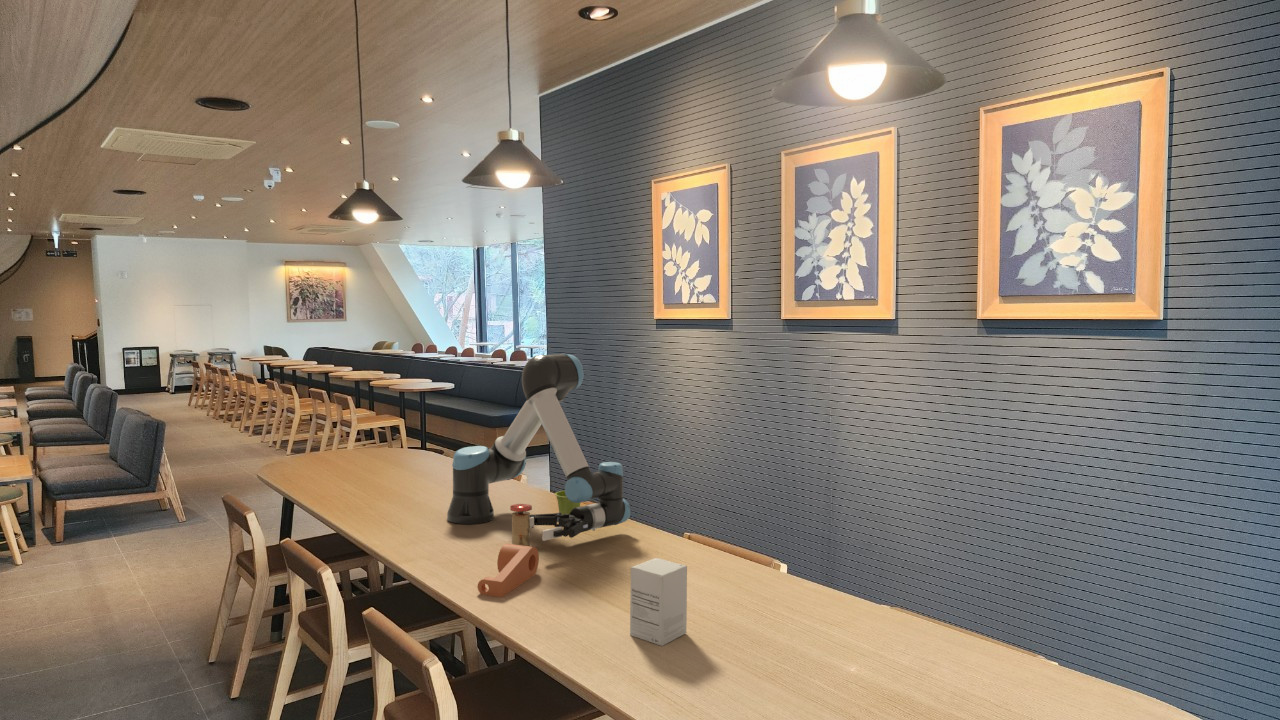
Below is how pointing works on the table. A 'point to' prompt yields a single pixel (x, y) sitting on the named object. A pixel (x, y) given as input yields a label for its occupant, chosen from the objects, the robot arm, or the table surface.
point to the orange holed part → (511, 569)
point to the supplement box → (658, 601)
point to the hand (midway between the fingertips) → (528, 530)
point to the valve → (521, 524)
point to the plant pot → (565, 503)
